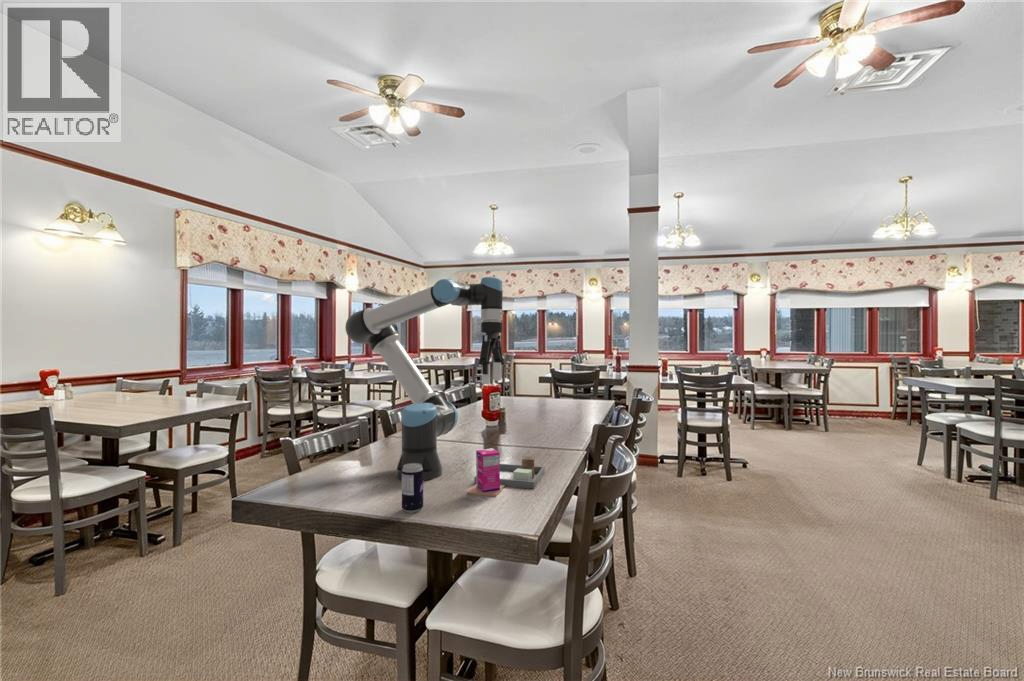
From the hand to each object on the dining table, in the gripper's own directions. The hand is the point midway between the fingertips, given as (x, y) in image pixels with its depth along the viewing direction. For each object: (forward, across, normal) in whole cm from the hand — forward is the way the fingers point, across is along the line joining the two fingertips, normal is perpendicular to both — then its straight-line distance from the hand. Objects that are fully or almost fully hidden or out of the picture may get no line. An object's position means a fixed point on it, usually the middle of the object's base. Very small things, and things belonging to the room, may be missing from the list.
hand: (491, 382), depth 164 cm
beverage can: (+31, -42, +9) cm, 53 cm away
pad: (+31, -22, -5) cm, 38 cm away
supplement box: (+30, -22, -6) cm, 38 cm away
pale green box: (+31, -12, -14) cm, 36 cm away
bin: (+31, -8, -9) cm, 33 cm away
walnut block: (+31, -4, -14) cm, 34 cm away
